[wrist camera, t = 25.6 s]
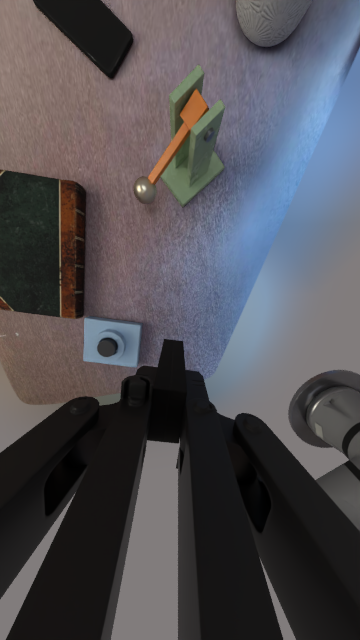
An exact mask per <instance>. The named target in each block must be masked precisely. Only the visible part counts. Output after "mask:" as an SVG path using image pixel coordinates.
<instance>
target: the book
mask: <svg viewBox="0 0 360 640" xmlns="http://www.w3.org/2000/svg"><path fill="white" fill-rule="evenodd" d="M84 238H85V189H84V188H83V187H82V186H81V185H80V184H78V183H77V182H74V181H69V180H60V179H54V178H48V177H42V176H36V175H31V174H25V173H18V172H12V171H6V170H0V309H1V310H8V311H16V312H24V313H31V314H39V315H48V316H56V317H64V318H70V319H77V318H81V317H83V288H84Z"/></svg>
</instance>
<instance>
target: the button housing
mask: <svg viewBox="0 0 360 640" xmlns="http://www.w3.org/2000/svg"><path fill="white" fill-rule="evenodd" d="M142 325H143V323H137V322H130V321H122V320H115V319H108V318H100V317H93V316H88V317H86V318H85V321H84V361H88V362H96V363H105V364H113V365H121V366H129V367H137V366H138V363H139V355H140V345H141V335H142ZM106 338H111V339H113V340H115V342H116V343H117V350H116V352H115V353H114V354H113V355H112V356H110V357H103V356H101V355H100V354H99V353H98V351H97V346H98V344H99V343H100V342H101V341H102V340H103V339H106Z"/></svg>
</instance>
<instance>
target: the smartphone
mask: <svg viewBox="0 0 360 640" xmlns="http://www.w3.org/2000/svg"><path fill="white" fill-rule="evenodd" d="M33 1H34V3H35V5H36V6H37V7H38V8H39V9H40V10H41V11H42V12H43V13H44V14H45V15H46V16H47V17H48V18H49V19H50V20H51V21H52V22H53V23H54V24H55V25H56V26H57V27H58V28H59V29H60V30H61V31H62V32H63V33H64V34H65V35H66V36H67V37H68V38H69V39H70V40H71V41H72V42H73V43H74V44H75V45H76V46H77V47H78V48H79V49H80V50H81V51H82V52H83V53H84V54H85V55H86V56H87V57H88V58H89V59H90V60H91V61H92V62H93V63H94V64H95V65H96V66H97V67H99V68H100V69H101V70H102V71H103V72H104V73H105V74H106V75H107V76H108V77H109V78H112V77H113V76H114V74H115V73H116V71H117V69H118V67H119V66H120V64H121V62H122V60H123V58H124V57H125V55H126V53H127V51H128V50H129V48H130V46H131V44H132V42H133V36H132V33H131V32H130V31H129V30H128V29H127V28H126V26H125V25H124V24H123V23H122V22H121V21H120V20H119V19H118V18H117V17H116V16H115V15H114V14H113V13H112V12H111V11H110V10H109V9H108V7H107V6H106V5H105V4H104V3H103V2H102V1H101V0H33Z"/></svg>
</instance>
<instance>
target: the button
mask: <svg viewBox="0 0 360 640" xmlns="http://www.w3.org/2000/svg"><path fill="white" fill-rule="evenodd" d="M116 350H117V343H116V342H115V340H113V339H111V338H106V339H103V340H102V341H101V342H100V343H99V344H98V346H97V351H98V353H99V354H100V355H101V356H103V357H110V356H112V355H113V354H114V353H115V352H116Z"/></svg>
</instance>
